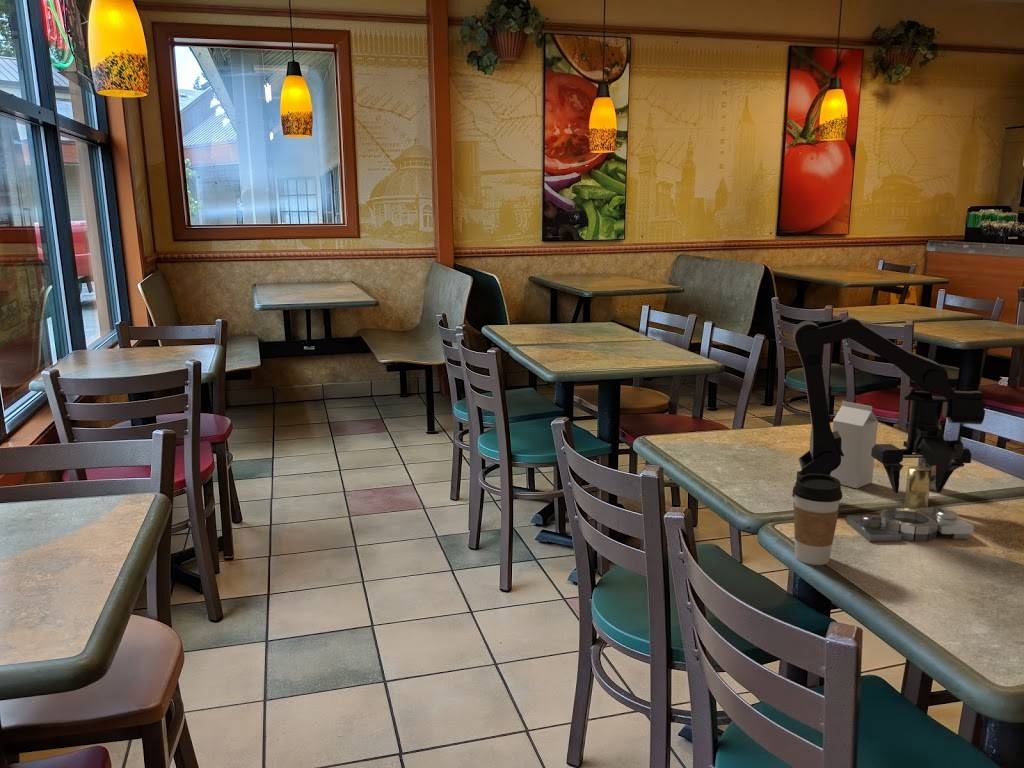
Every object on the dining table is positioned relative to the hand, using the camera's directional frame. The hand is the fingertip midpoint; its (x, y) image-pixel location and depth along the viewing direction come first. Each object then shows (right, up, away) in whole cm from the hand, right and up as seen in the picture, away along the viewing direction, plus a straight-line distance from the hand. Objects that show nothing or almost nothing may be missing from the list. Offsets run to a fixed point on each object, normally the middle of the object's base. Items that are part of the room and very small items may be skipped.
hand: (916, 492), depth 169 cm
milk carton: (-6, 0, +18) cm, 19 cm away
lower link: (-10, -6, -11) cm, 16 cm away
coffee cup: (-31, -9, -24) cm, 40 cm away
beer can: (+10, -1, +15) cm, 18 cm away
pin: (0, -4, +1) cm, 4 cm away
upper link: (-5, -6, -11) cm, 14 cm away
